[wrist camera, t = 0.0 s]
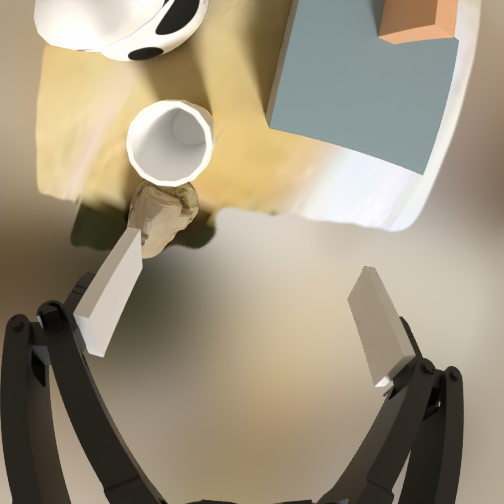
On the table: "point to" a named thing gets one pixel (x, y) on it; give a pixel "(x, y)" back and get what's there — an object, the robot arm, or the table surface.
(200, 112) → the foam cup
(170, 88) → the table surface
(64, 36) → the milk container
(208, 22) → the table surface
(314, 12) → the lid flap
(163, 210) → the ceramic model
